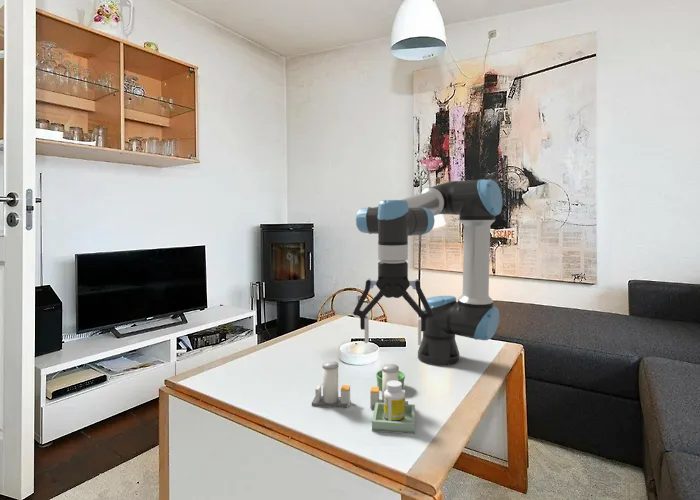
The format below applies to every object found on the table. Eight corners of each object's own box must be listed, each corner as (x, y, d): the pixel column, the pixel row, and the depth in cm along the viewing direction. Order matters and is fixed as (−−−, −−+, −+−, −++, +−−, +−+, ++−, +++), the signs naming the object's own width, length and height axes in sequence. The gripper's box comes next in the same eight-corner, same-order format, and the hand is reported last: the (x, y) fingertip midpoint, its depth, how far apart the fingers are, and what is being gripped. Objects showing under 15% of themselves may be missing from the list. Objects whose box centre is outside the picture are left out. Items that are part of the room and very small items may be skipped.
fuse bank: (408, 403, 121) (408, 364, 120) (407, 412, 116) (408, 371, 115) (315, 398, 125) (315, 359, 124) (311, 405, 120) (311, 366, 119)
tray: (414, 413, 116) (414, 404, 115) (414, 434, 105) (414, 424, 105) (375, 410, 117) (375, 402, 117) (371, 430, 107) (371, 421, 106)
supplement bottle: (408, 417, 112) (408, 382, 111) (398, 426, 107) (398, 389, 106) (390, 412, 115) (390, 377, 114) (379, 421, 110) (379, 384, 109)
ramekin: (397, 396, 126) (397, 382, 126) (370, 390, 131) (370, 376, 130) (409, 386, 134) (409, 372, 133) (384, 380, 138) (384, 366, 138)
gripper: (442, 259, 110) (440, 339, 112) (346, 258, 113) (347, 336, 115) (444, 263, 102) (443, 349, 105) (341, 262, 106) (342, 345, 108)
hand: (392, 342), depth 110 cm, fingers open, 13 cm apart
